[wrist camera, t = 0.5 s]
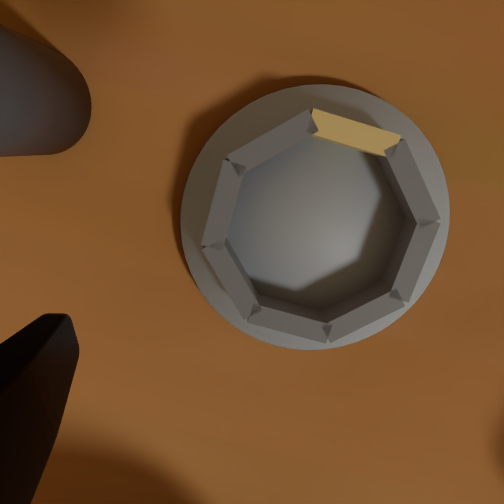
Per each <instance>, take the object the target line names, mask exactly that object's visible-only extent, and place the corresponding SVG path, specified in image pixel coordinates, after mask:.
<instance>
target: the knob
mask: <svg viewBox="0 0 504 504" xmlns="http://www.w3.org/2000/svg"><path fill="white" fill-rule="evenodd" d="M90 117H91V97H90V92H89V88H88V86H87V83H86V81H85V79H84V77H83V75H82V74H81V72H80V71H79V69H78V68H77V67H76V66H75V65H74V64H73V63H72V62H71V61H70V60H69V59H68V58H67V57H65V56H64V55H62V54H61V53H59V52H57V51H55V50H53V49H51V48H49V47H47V46H45V45H43V44H41V43H39V42H37V41H35V40H33V39H31V38H29V37H27V36H25V35H22V34H20V33H18V32H16V31H14V30H12V29H10V28H8V27H6V26H4V25H2V24H0V157H7V156H30V155H51V154H57V153H60V152H63V151H65V150H67V149H69V148H71V147H72V146H73V145H75V144H76V143H77V142H78V141H79V140H80V138H81V137H82V136H83V134H84V133H85V131H86V129H87V127H88V124H89V121H90Z"/></svg>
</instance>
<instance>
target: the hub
mask: <svg viewBox="0 0 504 504" xmlns="http://www.w3.org/2000/svg"><path fill="white" fill-rule="evenodd" d="M449 218H450V206H449V194H448V189H447V184H446V179H445V176H444V173H443V170H442V167H441V164H440V161H439V159H438V157H437V156H436V154H435V152H434V150H433V148H432V146H431V144H430V143H429V142H428V140H427V139H426V137H425V136H424V135H423V133H422V132H421V130H420V129H419V128H418V127H417V126H416V125H415V124H414V123H413V122H412V121H411V120H410V119H409V118H408V117H407V116H406V115H404V114H403V113H402V112H400V111H399V110H398V109H397V108H395V107H394V106H392V105H391V104H389V103H387V102H385V101H384V100H382V99H380V98H378V97H376V96H374V95H371V94H369V93H366V92H364V91H361V90H357V89H353V88H349V87H345V86H338V85H327V84H315V85H301V86H296V87H291V88H286V89H282V90H279V91H276V92H273V93H270V94H268V95H265V96H263V97H261V98H259V99H257V100H255V101H253V102H251V103H249V104H248V105H246V106H245V107H243V108H242V109H240V110H239V111H237V112H236V113H235V114H233V115H232V116H231V117H230V118H229V119H228V120H227V121H225V122H224V123H223V124H222V125H221V126H220V127H219V128H218V129H217V130H216V132H215V133H214V134H213V135H212V136H211V137H210V139H209V140H208V141H207V142H206V144H205V146H204V147H203V149H202V150H201V152H200V153H199V155H198V156H197V158H196V161H195V163H194V165H193V167H192V169H191V171H190V173H189V177H188V180H187V183H186V186H185V189H184V194H183V200H182V205H181V221H180V227H181V238H182V245H183V249H184V254H185V258H186V261H187V264H188V267H189V269H190V272H191V275H192V276H193V278H194V280H195V282H196V284H197V286H198V288H199V290H200V291H201V292H202V294H203V295H204V297H205V298H206V299H207V301H208V302H209V303H210V304H211V306H212V307H213V308H214V309H215V310H216V311H217V312H218V313H219V314H220V315H221V316H222V317H223V318H225V319H226V320H227V321H228V322H229V323H231V324H232V325H233V326H235V327H236V328H238V329H239V330H241V331H243V332H244V333H246V334H248V335H250V336H252V337H254V338H256V339H258V340H260V341H263V342H266V343H269V344H272V345H275V346H280V347H285V348H290V349H301V350H319V349H329V348H335V347H341V346H344V345H348V344H351V343H355V342H358V341H360V340H362V339H365V338H367V337H370V336H372V335H374V334H375V333H377V332H379V331H381V330H382V329H384V328H386V327H387V326H389V325H390V324H391V323H393V322H394V321H395V320H397V319H398V318H400V317H401V316H402V315H403V314H404V313H405V312H406V311H407V310H408V309H409V308H410V307H411V306H412V305H413V304H414V303H415V302H416V300H417V299H418V298H419V297H420V296H421V295H422V293H423V292H424V290H425V289H426V287H427V286H428V284H429V283H430V281H431V280H432V278H433V276H434V274H435V272H436V270H437V268H438V266H439V264H440V261H441V258H442V255H443V252H444V249H445V246H446V241H447V236H448V231H449Z"/></svg>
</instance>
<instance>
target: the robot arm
mask: <svg viewBox="0 0 504 504" xmlns="http://www.w3.org/2000/svg"><path fill="white" fill-rule="evenodd" d="M78 358H79V344H78V340H77V337H76V334H75V330H74V327H73V323H72V320H71V318H70V316H69V315H67V314H62V313H47V314H44V315H42V316H40V317H39V318H37V319H36V320H34V321H33V322H31V323H30V324H28V325H27V326H26V327H24V328H23V329H21V330H20V331H18V332H17V333H15V334H14V335H13V336H11V337H10V338H8V339H7V340H5V341H4V342H2V343H1V344H0V504H31V501H32V499H33V496H34V494H35V491H36V489H37V486H38V484H39V481H40V479H41V476H42V474H43V471H44V468H45V466H46V463H47V461H48V458H49V456H50V453H51V451H52V448H53V445H54V443H55V440H56V437H57V434H58V431H59V427H60V424H61V421H62V417H63V413H64V410H65V406H66V402H67V398H68V395H69V391H70V387H71V384H72V380H73V376H74V373H75V369H76V366H77V362H78Z"/></svg>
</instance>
